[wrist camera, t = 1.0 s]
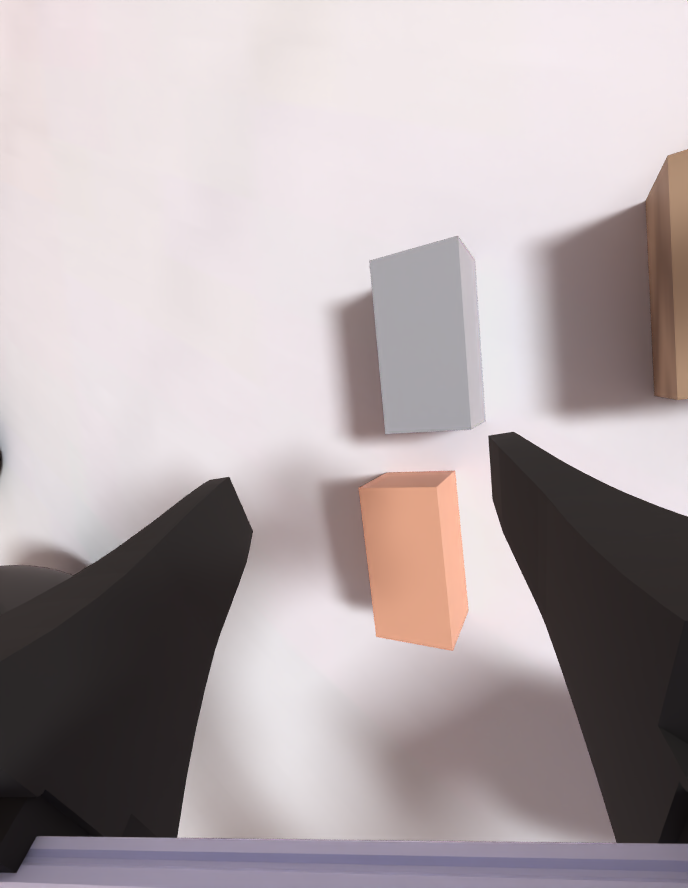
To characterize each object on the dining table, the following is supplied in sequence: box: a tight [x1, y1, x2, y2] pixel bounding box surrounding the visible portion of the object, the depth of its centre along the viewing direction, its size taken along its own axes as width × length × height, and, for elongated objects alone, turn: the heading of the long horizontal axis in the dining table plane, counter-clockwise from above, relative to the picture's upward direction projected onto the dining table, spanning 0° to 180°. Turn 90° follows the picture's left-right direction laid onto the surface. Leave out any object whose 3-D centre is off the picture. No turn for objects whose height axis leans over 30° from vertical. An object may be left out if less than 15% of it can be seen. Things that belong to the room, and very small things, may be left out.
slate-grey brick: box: [369, 236, 486, 434], centre depth 20 cm, size 8×4×4 cm, turn 6°
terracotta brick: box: [359, 471, 468, 651], centre depth 22 cm, size 8×4×4 cm, turn 7°
